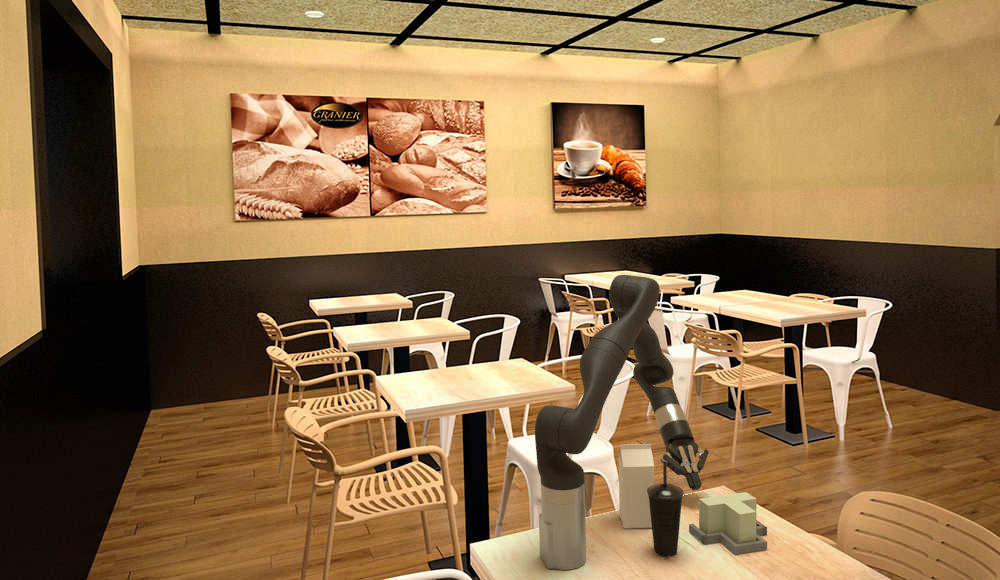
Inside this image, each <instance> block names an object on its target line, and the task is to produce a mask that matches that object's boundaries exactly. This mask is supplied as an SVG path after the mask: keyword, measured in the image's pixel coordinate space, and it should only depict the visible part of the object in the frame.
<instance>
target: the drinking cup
mask: <svg viewBox="0 0 1000 580" xmlns="http://www.w3.org/2000/svg"><path fill="white" fill-rule="evenodd" d="M662 464H663V465H662V466H663V469H662V471H663V474H662V476H663V477H662V478H663V482H660V483H657V484H654V485H652V486H650V487H648V489H647V494H648V495H649V505H650V514H651V524H652V528H651V530H652V542H653V550H654V553H655V554H656V555H657V556H661V557H664V558H665V557H666V558H668V557H673V556H676V555H677V554H678V548H679V547H678V545H679V535H680V527H681V526H680V525H681V514H682V513H681V512H682V511H681V510H682V502H683V496H684V490H683V489H682V488H681V487H680V486H678V485H674V484H671V483H667V482H668V480H667V479H668V478H667V477H668V475H667V473H668V472H667V468H668V467H667V462H663V463H662Z"/></svg>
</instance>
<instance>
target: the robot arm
mask: <svg viewBox="0 0 1000 580" xmlns="http://www.w3.org/2000/svg"><path fill="white" fill-rule="evenodd" d="M660 290H661V289H660V285H659V283H658V281H657V280H656V279H654V278H650V277H647V276H639V275H631V274H619V275H616V276H615V277H614V278H613V280H612V281H611V283H610V287H609V293H608V296H609V302H610V304H611V305H610V306H611V308H612V311H613V312H614V314H615V315H616V317H617V319H616V320H615V321H613V322H612V323H610V324H608V325H606V326H605V327H603V328H602V329H600V330H599V331H597V332H596V333H595V334H593V336H592V337H591V338H590V340H589V342H588V343H587V345H586V347H585V348H584V351H582V352H583V353H582V354H581V356H580V359H579V371H580V376H581V381H582V385H583V395H582V397H581V400H580V401H579V403H578V405H577V406H576V407H575V408H572V407H566V406H558V405H554V404H553V405H552V404H551V405H545V406H543V407H542V408H541V409H540V410H539V412H538V414H537V416H536V420H535V426H534V439H535V442H534V443H535V452H536V453H535V454H536V466H537V470H538V473H539V476H540V500H541V501H540V502H541V503H540V505H541V508H540V509H541V513H538V529H539V530H538V534H539V557H540V558H541V560H542V561H543V563H544V565H545V567H546V569H549V570H550V569H551V570H552V569H556V570H563V571H564V570H566V571H567V570H574V569H578V568H580V567H582V566H583V565H584V564H585V563H586V562H587V540H586V538H587V537H586V536H587V535H586V534H587V533H586V492H585V491H586V489H585V482H586V481H585V471H584V468H583V467H582V466H581V465H580V464H579V463H577V461H574V460H573V459H572V458H571V457H570V456H569V455H580V454H581V453H583V452H584V451H586V448H587V447H588V445H589V443H590V441H591V440H592V437H593V434H594V433H595V430H596V426H597V424H598V422H599V419H600V417H601V413H602V411H603V408H604V406H605V404H606V401H607V398H608V397H609V396H610V395H609V394H610V392H611V391H612V388H613V386H614V385H615V382H616V381H617V378H619V375H620V373H621V372H622V369H623V367H624V365H625V363H626V361H627V359H628V357H629V354H630V352H631V350H633V353H634V356H635V359H636V362H637V363H636V364H635V365H634V366H633V372H632V374H633V377H634V379H635V380H634V381H636V383H637V384H638V385H639V387H640V388H641V389H642V391H643V392H644V393H645V395H646V397H647V399H648V401H649V402H650V405H651V407H652V410H653V414H654V416H655V421H656V425H657V428H658V430H659V432H660V433H659V434H660V436H661V439H662V441H663V444H664V446H665V453H664V454H663V455H662V457H661V458H660V462H661V463H662V464H663V462H667V468H668V469H670V471H672V472H674V473H675V474H676V476H684V477H685V479H686V482H687V486H688V487H689V489H691V490H692V491H699V490H700V489H701V487H702V481H701V478H700V475H699V473H701V471H702V470H703V469H704V467H705V464H706V461H707V459H708V455H709V452H710V451H709V450H708V449H705V448H704V449H702V448H700V447H699V445H698V444H697V443H696V441H695V439H694V434H693V432H692V430H691V427H690V425H689V422H688V420H687V416H686V415H685V411H684V410H683V408H682V407H681V405H680V402H679V399H678V396H677V392H676V391H675V390H674V388H672V387H669V386H657V385H660V384H663V383H664V384H665V383H666V382H669V381H670V380H672V379H673V376H674V368H673V365H672V363H671V361H670V360H669V358H667V356H666V355H665V354H664V352H663V351H662V347H661V344H660V340H659V337H658V334H657V333H656V331H655V330H654V329H653V327H652V326H651V325H650V324H649V323H648V320H649V319H650V318H651V316H652V315H653V313H654V311H655V309H656V308H657V304H658V302H659V297H660V292H661V291H660ZM696 456H697V458H698V461H697V460H696Z"/></svg>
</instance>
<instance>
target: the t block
mask: <svg viewBox="0 0 1000 580" xmlns="http://www.w3.org/2000/svg"><path fill="white" fill-rule="evenodd" d="M698 518H699V519H698V521H699V522H698V523H699V524H698V528H699V529H700V530H701V531H702V532H704V533H705V534H711V533H718V532H723V533H724V534H725V535H727V536H728V537H729V538H730V539H731V540H733V541H734V542H735V543H736V544H740V543H747V542H753V541H756V520H757V498H756V497H755V496H753V495H752V494H750V493H749V492H747V491H745V492H744V491H743V492H738V493H730V494H725V495H724V494H723V495H717V496H716V495H715V496H709V497H702V498H699V500H698Z"/></svg>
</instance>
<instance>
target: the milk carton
mask: <svg viewBox="0 0 1000 580" xmlns="http://www.w3.org/2000/svg"><path fill="white" fill-rule="evenodd" d="M619 447H620V450H619V453H618V490H619V491H618V493H619V495H618V498H619V499H618V502H619V503H618V505H619V518H620V520H621V523H622V526H623V529H652V524H651V514H650V505H649V495H648V494H647V489H648V487H650V486H652V485H655V462H654V457H653V451H652V444H651V443H637V444H636V443H634V444H630V443H629V444H628V443H627V444H620V446H619Z"/></svg>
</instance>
